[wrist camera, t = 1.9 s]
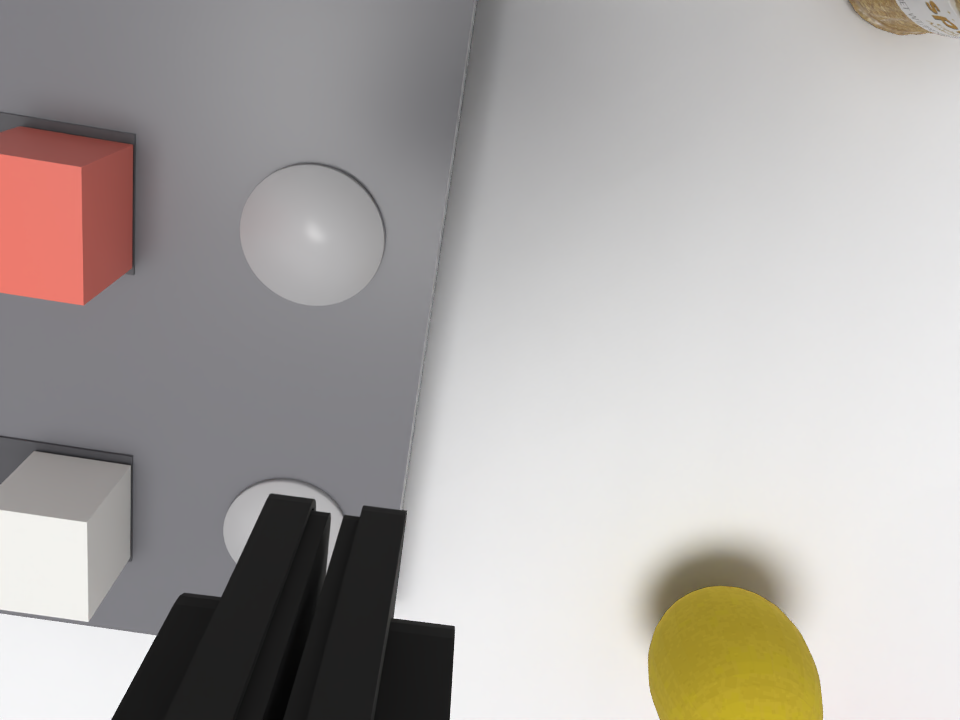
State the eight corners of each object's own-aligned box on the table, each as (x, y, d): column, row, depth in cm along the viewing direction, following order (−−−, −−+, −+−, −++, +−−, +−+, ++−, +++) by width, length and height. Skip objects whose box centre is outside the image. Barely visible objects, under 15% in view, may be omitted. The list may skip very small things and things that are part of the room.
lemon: (620, 651, 35) (651, 829, 28) (652, 533, 33) (697, 692, 25) (757, 670, 35) (826, 852, 28) (798, 554, 33) (884, 718, 26)
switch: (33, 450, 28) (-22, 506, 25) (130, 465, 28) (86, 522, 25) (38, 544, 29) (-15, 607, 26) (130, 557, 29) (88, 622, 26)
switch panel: (-113, -471, 22) (-229, -558, 18) (528, -348, 23) (534, -410, 19) (-33, 541, 33) (-95, 606, 30) (388, 601, 34) (375, 672, 31)
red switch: (20, 126, 24) (-48, 146, 21) (132, 144, 24) (81, 167, 21) (25, 251, 25) (-38, 286, 22) (132, 268, 25) (83, 305, 22)
